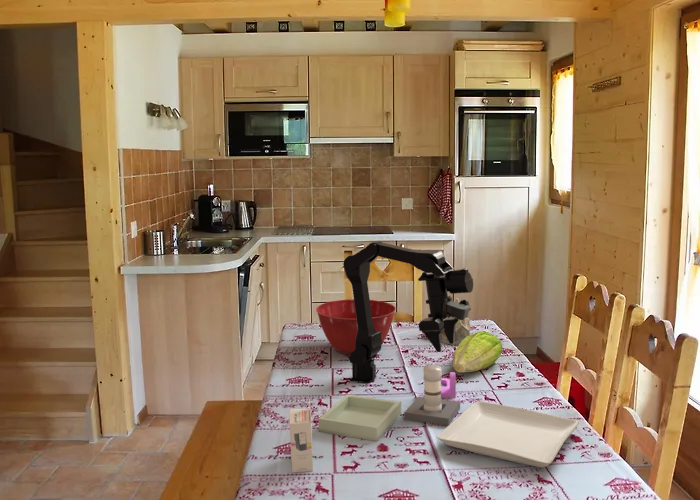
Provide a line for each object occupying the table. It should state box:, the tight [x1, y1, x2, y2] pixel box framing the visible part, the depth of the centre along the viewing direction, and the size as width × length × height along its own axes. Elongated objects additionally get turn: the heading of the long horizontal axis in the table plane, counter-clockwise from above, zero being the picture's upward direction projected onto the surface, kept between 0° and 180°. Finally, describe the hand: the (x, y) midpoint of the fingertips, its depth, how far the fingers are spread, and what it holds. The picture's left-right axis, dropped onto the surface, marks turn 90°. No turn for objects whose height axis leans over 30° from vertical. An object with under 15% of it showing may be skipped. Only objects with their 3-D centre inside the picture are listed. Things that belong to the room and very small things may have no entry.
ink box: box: [289, 398, 314, 473], centre depth 152 cm, size 9×5×15 cm, turn 5°
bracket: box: [441, 371, 457, 399], centre depth 197 cm, size 13×6×7 cm, turn 176°
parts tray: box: [318, 394, 402, 442], centre depth 175 cm, size 16×18×4 cm
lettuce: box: [452, 330, 503, 373], centre depth 215 cm, size 12×24×13 cm
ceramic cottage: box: [441, 297, 472, 346], centre depth 248 cm, size 16×16×15 cm
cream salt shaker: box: [423, 364, 443, 413], centre depth 179 cm, size 5×5×13 cm
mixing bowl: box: [315, 298, 397, 356], centre depth 238 cm, size 28×28×15 cm
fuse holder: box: [403, 396, 461, 427], centre depth 180 cm, size 12×12×2 cm
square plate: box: [436, 401, 580, 468], centre depth 163 cm, size 27×27×4 cm
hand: (445, 347), depth 192 cm, fingers open, 9 cm apart
